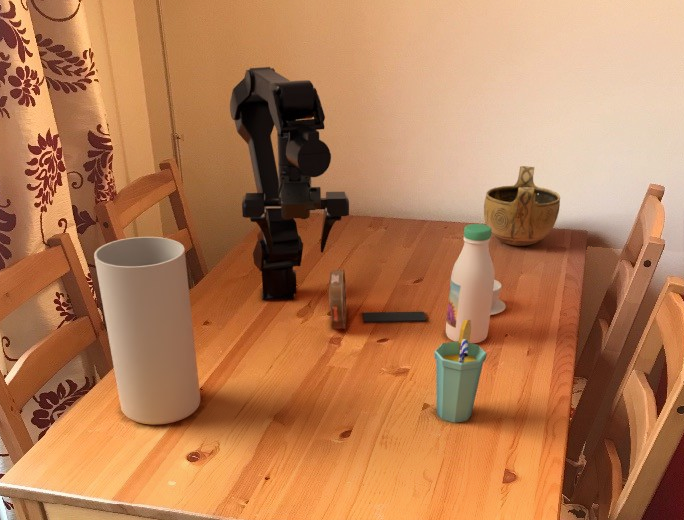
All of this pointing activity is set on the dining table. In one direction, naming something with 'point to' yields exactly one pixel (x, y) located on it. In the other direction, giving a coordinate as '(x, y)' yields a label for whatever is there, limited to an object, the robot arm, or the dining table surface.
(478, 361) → the cup
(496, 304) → the teacup
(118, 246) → the cylinder vase
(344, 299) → the tin
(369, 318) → the strip
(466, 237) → the milk bottle
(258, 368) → the dining table surface
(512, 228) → the ceramic bowl
